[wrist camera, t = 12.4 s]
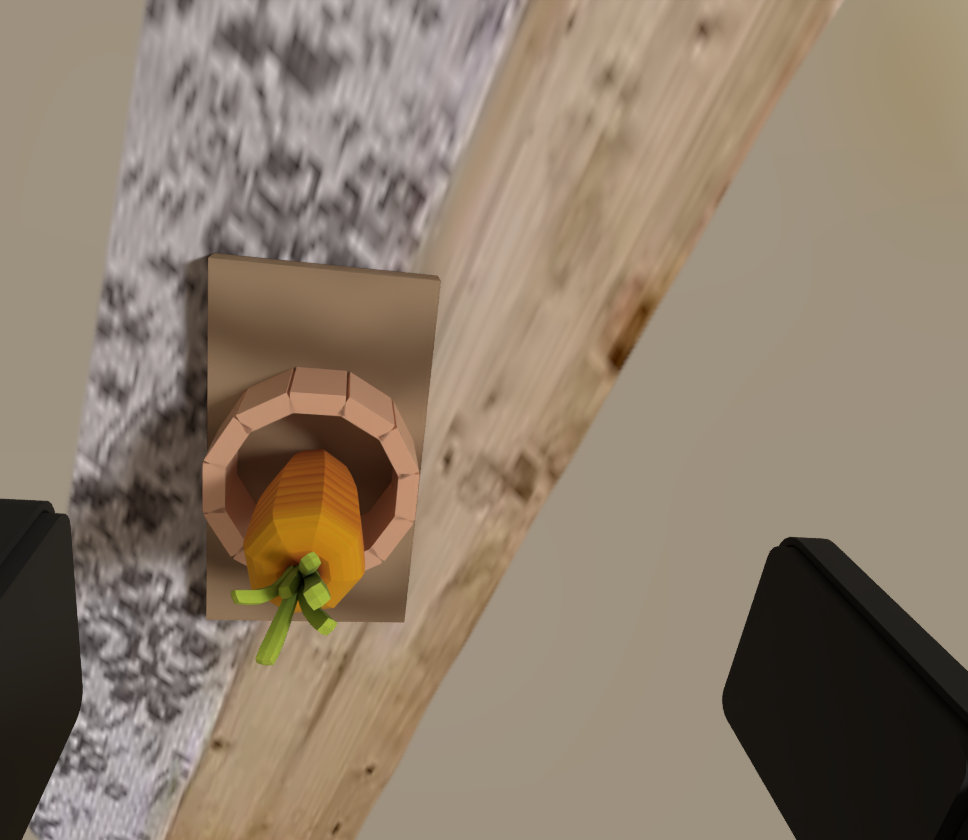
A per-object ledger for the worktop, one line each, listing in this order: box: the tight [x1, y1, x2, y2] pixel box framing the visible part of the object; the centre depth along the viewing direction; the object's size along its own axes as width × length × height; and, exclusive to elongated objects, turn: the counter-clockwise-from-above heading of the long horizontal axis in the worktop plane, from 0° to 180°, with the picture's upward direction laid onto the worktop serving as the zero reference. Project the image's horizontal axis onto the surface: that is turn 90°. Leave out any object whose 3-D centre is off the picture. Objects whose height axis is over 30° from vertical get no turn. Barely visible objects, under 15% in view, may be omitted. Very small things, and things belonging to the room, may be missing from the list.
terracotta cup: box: [203, 367, 420, 571], centre depth 38 cm, size 10×10×4 cm
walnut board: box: [206, 253, 441, 622], centre depth 40 cm, size 20×11×2 cm, turn 173°
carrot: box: [231, 449, 365, 665], centre depth 33 cm, size 5×5×15 cm
